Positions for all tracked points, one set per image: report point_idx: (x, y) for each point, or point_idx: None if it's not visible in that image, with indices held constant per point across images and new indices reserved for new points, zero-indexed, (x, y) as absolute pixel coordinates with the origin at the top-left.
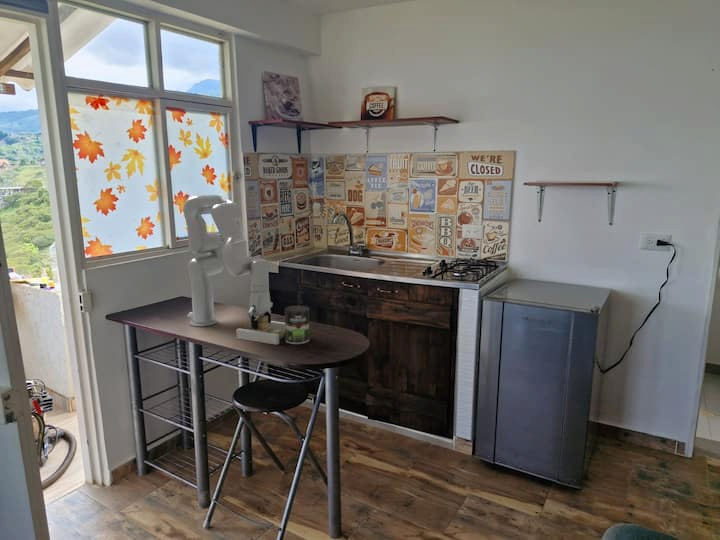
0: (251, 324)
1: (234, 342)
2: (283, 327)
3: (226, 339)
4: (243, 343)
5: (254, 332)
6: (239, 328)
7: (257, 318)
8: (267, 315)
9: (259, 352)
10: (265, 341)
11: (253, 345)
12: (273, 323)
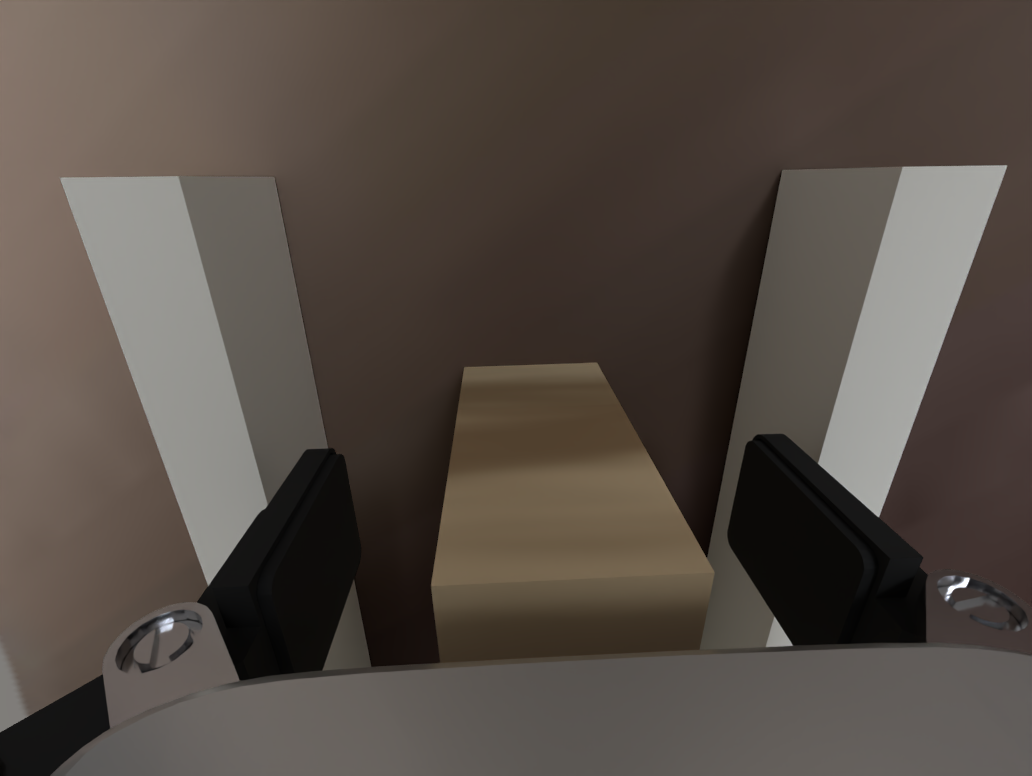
0: (278, 500)
1: (42, 271)
2: (731, 634)
3: (24, 17)
4: (116, 412)
5: (208, 577)
6: (171, 195)
7: (440, 625)
8: (819, 629)
9: (61, 689)
10: None
11: (157, 548)
12: None
